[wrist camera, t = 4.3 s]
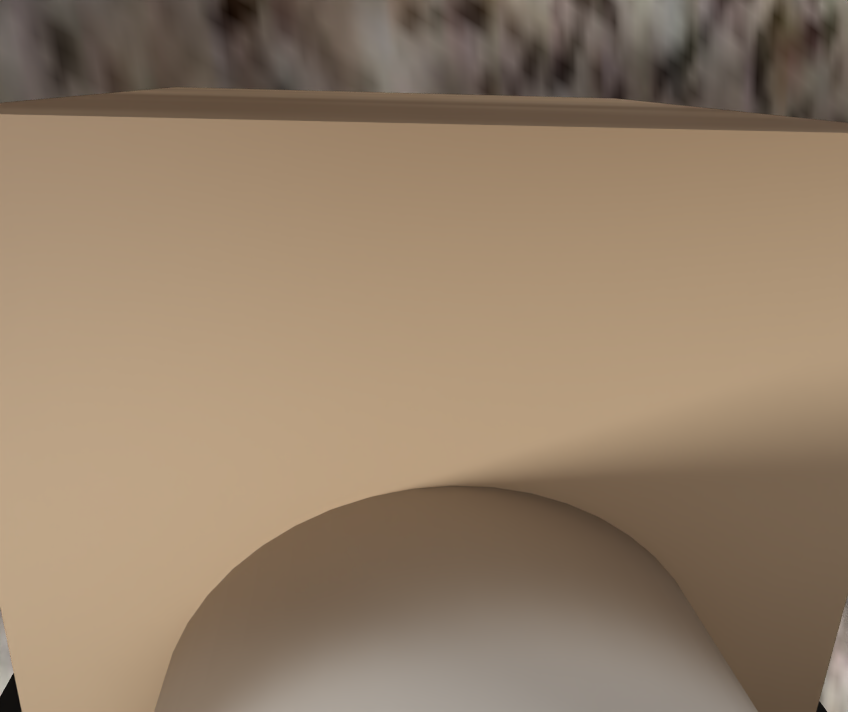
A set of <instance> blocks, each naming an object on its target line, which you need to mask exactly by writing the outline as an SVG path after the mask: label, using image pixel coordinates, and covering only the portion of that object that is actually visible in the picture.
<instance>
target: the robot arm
mask: <svg viewBox="0 0 848 712" xmlns="http://www.w3.org/2000/svg"><path fill="white" fill-rule="evenodd" d="M0 712H22V710H21V705H20V700H19V695H18V690H17V686H16V681H15V676H14V673H13V675H12V677H11V679H10V680H9V682H8V684H7V686H6V687H5V689H4V691H3V693H2V694H1V696H0ZM816 712H827V711H826V709H825V708H824V707H823V705H822V704H821V703H820V701H819V703H818V707H817V710H816Z"/></svg>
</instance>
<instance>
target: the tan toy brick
mask: <svg viewBox="0 0 848 712" xmlns="http://www.w3.org/2000/svg"><path fill="white" fill-rule="evenodd" d="M847 595H848V123H845V122H835V121H826V120H816V119H807V118H797V117H787V116H778V115H768V114H759V113H749V112H740V111H730V110H721V109H711V108H701V107H692V106H682V105H673V104H663V103H654V102H644V101H635V100H625V99H615V98H576V97H537V96H498V95H460V94H421V93H382V92H343V91H304V90H265V89H226V88H187V87H172V88H161V89H150V90H139V91H127V92H116V93H105V94H94V95H82V96H71V97H60V98H49V99H38V100H26V101H15V102H4V103H0V608H1V613H2V618H3V623H4V628H5V632H6V637H7V642H8V647H9V652H10V657H11V661H12V666H13V671H14V676H15V681H16V686H17V690H18V695H19V700H20V705H21V710H22V712H816V710H817V707H818V703H819V699H820V696H821V692H822V688H823V684H824V681H825V677H826V673H827V670H828V666H829V662H830V658H831V655H832V651H833V647H834V644H835V640H836V636H837V632H838V629H839V625H840V621H841V617H842V614H843V610H844V606H845V603H846V599H847Z"/></svg>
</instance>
